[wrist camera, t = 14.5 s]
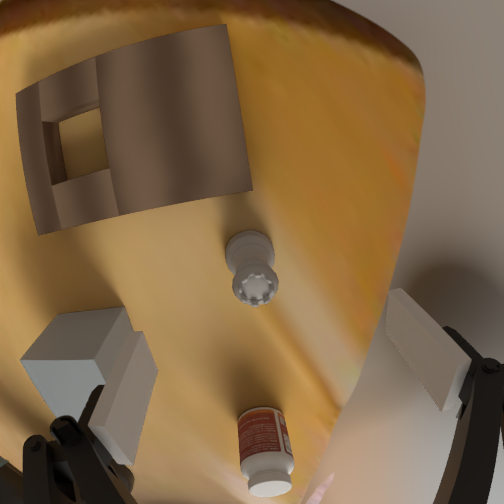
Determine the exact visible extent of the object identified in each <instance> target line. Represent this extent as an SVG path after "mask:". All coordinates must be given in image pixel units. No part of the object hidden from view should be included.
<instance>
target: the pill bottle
mask: <svg viewBox="0 0 504 504" xmlns="http://www.w3.org/2000/svg"><path fill="white" fill-rule="evenodd" d="M238 438H239V453H240V467H241V472H242V474H243V476H244V477H245V478H247V479H248V480H249V481H248V488H249V492H250V493H251V494H252V495H254V496H258V497H273V496H278V495H281V494H284V493H286V492H288V491H289V490H290V489H291V487H292V483H291V477H290V475H289V474H290V473H291V472H292V471H293V469H294V459H293V454H292V450H291V445H290V440H289V436H288V431H287V427H286V422H285V418H284V416H283V414H282V413H281V412H280V411H278V410H276V409H274V408H270V407H258V408H253V409H250V410H248V411H246V412H244V413H243V414H242V415H241V416H240V418H239V420H238Z"/></svg>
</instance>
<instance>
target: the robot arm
mask: <svg viewBox="0 0 504 504" xmlns="http://www.w3.org/2000/svg"><path fill="white" fill-rule="evenodd" d="M386 334H387V335H388V337H389V338H390V340H391V341H392V342H393V344H394V345H395V346H396V348H397V349H398V350H399V352H400V353H401V355H402V356H403V357H404V359H405V360H406V362H407V363H408V364H409V366H410V367H411V369H412V370H413V372H414V373H415V374H416V376H417V377H418V379H419V380H420V382H421V383H422V384H423V386H424V387H425V389H426V390H427V392H428V393H429V395H430V396H431V397H432V399H433V401H434V402H435V404H436V405H437V407H438V408H439V410H440V411H441V412H443V411H445V410H447V409H449V408H452V407H454V406H455V404H456V402H457V399H458V397H459V398H460V399H461V401H462V405H461V407H460V409H459V412H458V414H457V416H456V418H458V422H457V426H456V431H455V435H454V439H453V443H452V447H451V450H450V454H449V458H448V461H447V465H446V468H445V471H444V474H443V477H442V480H441V483H440V486H439V489H438V492H437V494H436V497H435V500H434V502H433V504H487V500H488V496H489V492H490V488H491V483H492V479H493V473H494V468H495V462H496V456H497V450H498V443H499V435H500V426H501V432H502V439H503V446H504V364H500V363H499V362H498V361H497V360H495V359H492V358H483V357H482V356H481V355H480V354H479V353H478V352H477V351H476V350H475V349H474V348H473V347H472V346H471V345H470V344H469V343H468V342H467V341H466V340H465V339H464V338H462V336H461V335H460V334H459V333H458V332H457V331H456V330H454V329H452V328H450V327H448V326H446V327H443V328H441V327H440V326H439V325H438V324H437V323H436V322H435V321H434V320H433V319H432V318H431V317H430V316H429V315H428V314H427V313H426V312H425V311H424V310H423V309H422V308H421V307H420V306H419V305H418V304H417V303H416V302H415V301H414V300H413V299H412V298H411V297H410V296H409V295H408V294H407V293H406V292H404V291H403V290H402V289H401V288H398V289H394V290H390V291H389V292H388V310H387V322H386ZM157 372H158V369H157V367H156V364H155V362H154V359H153V357H152V354H151V352H150V349H149V347H148V344H147V342H146V339H145V336H144V334H143V331H138V332H130V333H129V335H128V337H127V339H126V341H125V343H124V345H123V347H122V349H121V351H120V353H119V355H118V358H117V360H116V362H115V364H114V366H113V368H112V370H111V373H110V375H109V377H108V379H107V381H106V384H105V385H98V386H97V387H96V388H95V389H94V390H93V391H92V392H91V394H90V396H89V398H88V401H87V403H86V405H85V407H84V409H83V411H82V414H81V416H80V418H79V420H78V423H77V421H76V420H75V419H74V417H72V416H70V415H63V416H60V417H58V418H57V419H55V420H54V421H53V422H52V424H51V426H50V433H51V434H52V436H53V437H54V438H55V439H56V441H49V442H47V441H46V439H45V438H44V437H43V436H41V435H33V436H31V437H29V438H28V439H27V440H26V441H25V443H24V446H23V473H22V472H21V471H19V470H18V469H17V468H16V467H14V466H13V465H12V464H10V463H9V461H8V460H5V459H4V458H2V457H1V456H0V504H137V502H136V501H135V499H134V498H133V497H132V495H131V494H130V493H131V492H132V490H133V485H134V476H133V474H132V473H131V472H130V471H129V470H128V469H127V468H126V467H125V466H124V465H134V461H135V456H136V452H137V448H138V444H139V440H140V436H141V432H142V428H143V424H144V420H145V416H146V412H147V409H148V405H149V401H150V397H151V394H152V390H153V387H154V383H155V379H156V376H157ZM112 457H113V458H112ZM122 464H124V465H122Z"/></svg>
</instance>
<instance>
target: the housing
mask: <svg viewBox="0 0 504 504" xmlns="http://www.w3.org/2000/svg"><path fill="white" fill-rule="evenodd" d="M130 332H134V331H133V328H132V326H131V323H130V320H129V317H128V315H127V312H126V309H125V306H123V307H115V308H107V309H99V310H90V311H82V312H73V313H63V314H58V315H57V316H56V317H55V318H54V319H53V320H52V322H51V323H50V324H49V325H48V326H47V327H46V329H45V330H44V331H43V332H42V333H41V334H40V336H39V337H38V338H37V339H36V340H35V342H34V343H33V344H32V345H31V347H30V348H29V349H28V350H27V351H26V353H25V354H24V355H23V356H22V358H21V359H20V361H21V363H22V365H23V367H24V368H25V370H26V372H27V373H28V375H29V377H30V379H31V380H32V382H33V383H34V385H35V387H36V388H37V390H38V391H39V393H40V395H41V396H42V398H43V399H44V401H45V402H46V404H47V405H48V407H49V408H50V409H51V411H52V412H53V414H54V415H55V417H56V418H58V417H60V416H63V415H70V416H72V417H74V419H75V420H76V421H77V423H78V420H79V418H80V416H81V414H82V411H83V409H84V407H85V405H86V403H87V401H88V398H89V396H90V394H91V392H92V391H93V390H94V389H95V388H96V387H97V386H98V385H105V384H106V381H107V379H108V377H109V375H110V373H111V370H112V368H113V366H114V364H115V362H116V360H117V358H118V355H119V353H120V351H121V349H122V347H123V345H124V343H125V341H126V339H127V337H128V335H129V333H130Z"/></svg>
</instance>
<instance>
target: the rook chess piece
mask: <svg viewBox="0 0 504 504" xmlns="http://www.w3.org/2000/svg"><path fill="white" fill-rule="evenodd" d="M225 259H226V263H227V266H228V268H229V270H230V271H231V272H232V273H233V274H234V275H235V276H234V278H233V283H232V289H233V291H234V294H235V296H236V297H237V298H238V299H239V300H240V301H241V302H243V303H244V304H248V305H251V306H252V307H259V306H258V305H260V304H263V303H265V305H266V304H267V303H268V302H270V301H271V299H272V298H273V297H274V295H275V293H276V292H277V290H278V282H279V281H278V278H277V275H276V273H275V272H274V271H273V270H272V269H271V268H272V266H273V264H274V259H275V253H274V248H273V245H272V242H271V241H270V240H269V239H268V238H267V237H266V235H264V234H262V233H259V232H257V231H244V232H241V233H238V234H236V235H235V236H234V237H233V238H232V239H231V240H230V241H229V243H228V245H227V247H226V251H225Z"/></svg>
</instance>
